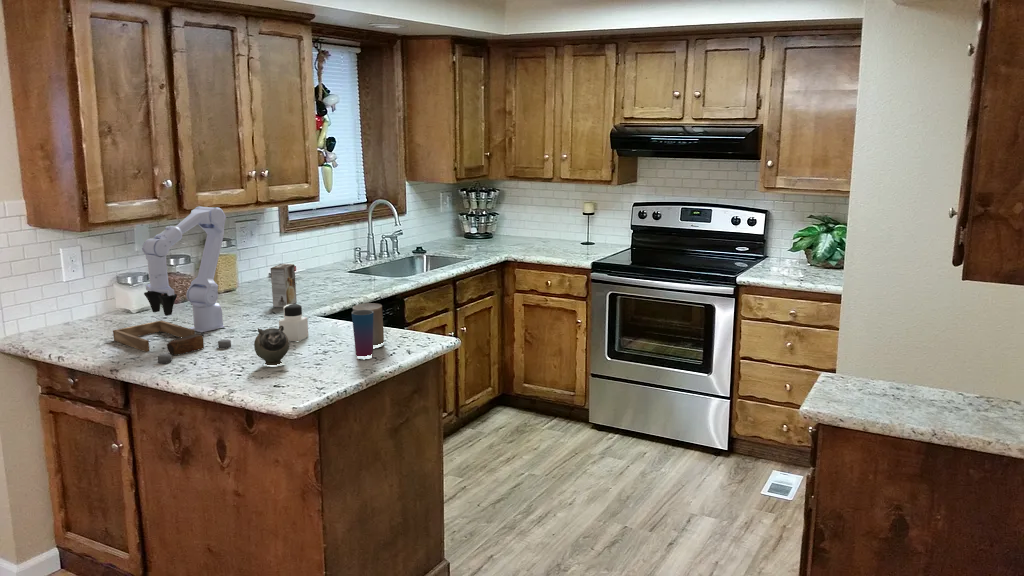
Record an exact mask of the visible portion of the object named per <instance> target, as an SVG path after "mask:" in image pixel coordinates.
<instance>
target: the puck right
mask: <svg viewBox="0 0 1024 576" xmlns="http://www.w3.org/2000/svg"><path fill="white" fill-rule="evenodd" d="M217 346H218V347H219V348H218V349H220V348H225V349H230V348H231V347H232V341H231V340H230V339H220V340H218V341H217ZM229 347H230V348H229Z"/></svg>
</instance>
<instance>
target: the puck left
mask: <svg viewBox="0 0 1024 576" xmlns="http://www.w3.org/2000/svg"><path fill="white" fill-rule="evenodd" d="M156 357H157V364H159V365H166V364H170V363H172V362H171V361H172V354H170V353H162V354H159V355H157V356H156Z"/></svg>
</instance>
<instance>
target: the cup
mask: <svg viewBox="0 0 1024 576" xmlns="http://www.w3.org/2000/svg"><path fill="white" fill-rule="evenodd" d="M373 313H374V312H373V311H372V310H356V311H353V310H352V311H351V319H352V320H351V321H352V330H353V340H354V348H355V356H356V355H357V356H367V355H371V354H372V353H374V349H373Z"/></svg>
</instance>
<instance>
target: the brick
mask: <svg viewBox="0 0 1024 576" xmlns="http://www.w3.org/2000/svg"><path fill="white" fill-rule="evenodd" d="M166 344H167V345H166V346H167V347H166V348H167V351H168V354H171V356H179V355H178V354H180V355H184V354H187V353H186V352H188V353H191V351H192V352H195V351H194V350H196V351H199V350H198V349H200V350H203V349H205V342H204V337H203V335H202V334H198V333H195V334H194V335H190V336H186V337H182V338H181V337H178V338H176V339H171V340H170V341H169V342H168V343H166ZM202 348H203V349H202ZM183 353H184V354H183Z"/></svg>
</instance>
